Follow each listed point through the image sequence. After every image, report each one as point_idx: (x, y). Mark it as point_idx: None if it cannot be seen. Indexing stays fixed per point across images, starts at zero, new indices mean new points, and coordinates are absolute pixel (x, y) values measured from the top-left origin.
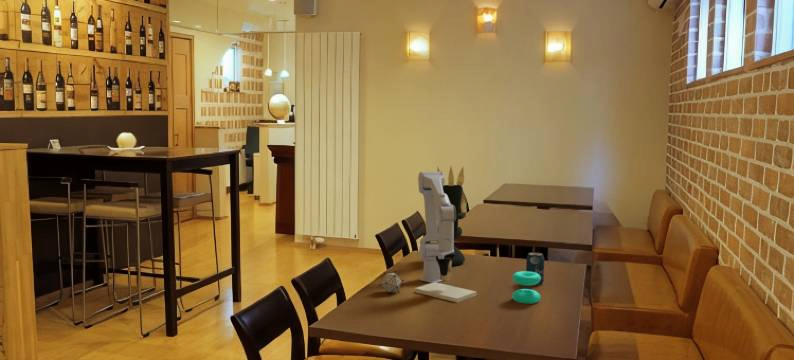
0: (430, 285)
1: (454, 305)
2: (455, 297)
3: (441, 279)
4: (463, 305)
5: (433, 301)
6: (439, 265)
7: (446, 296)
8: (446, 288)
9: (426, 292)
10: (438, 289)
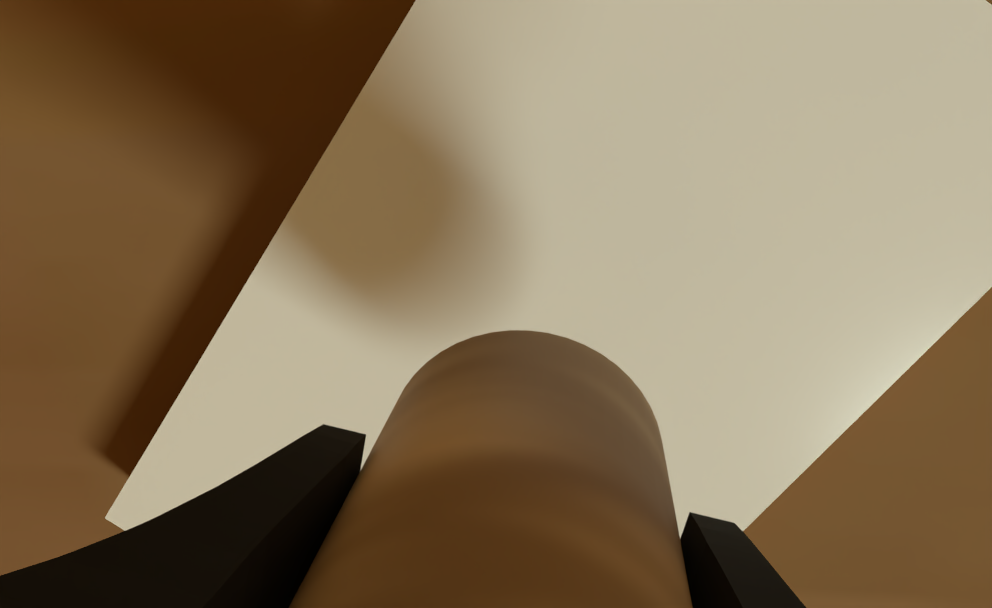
0: (856, 55)
1: (11, 449)
2: (147, 498)
3: (413, 378)
4: (49, 550)
5: (99, 159)
6: (68, 576)
7: (196, 371)
8: (639, 373)
9: (419, 6)
10: (556, 235)
